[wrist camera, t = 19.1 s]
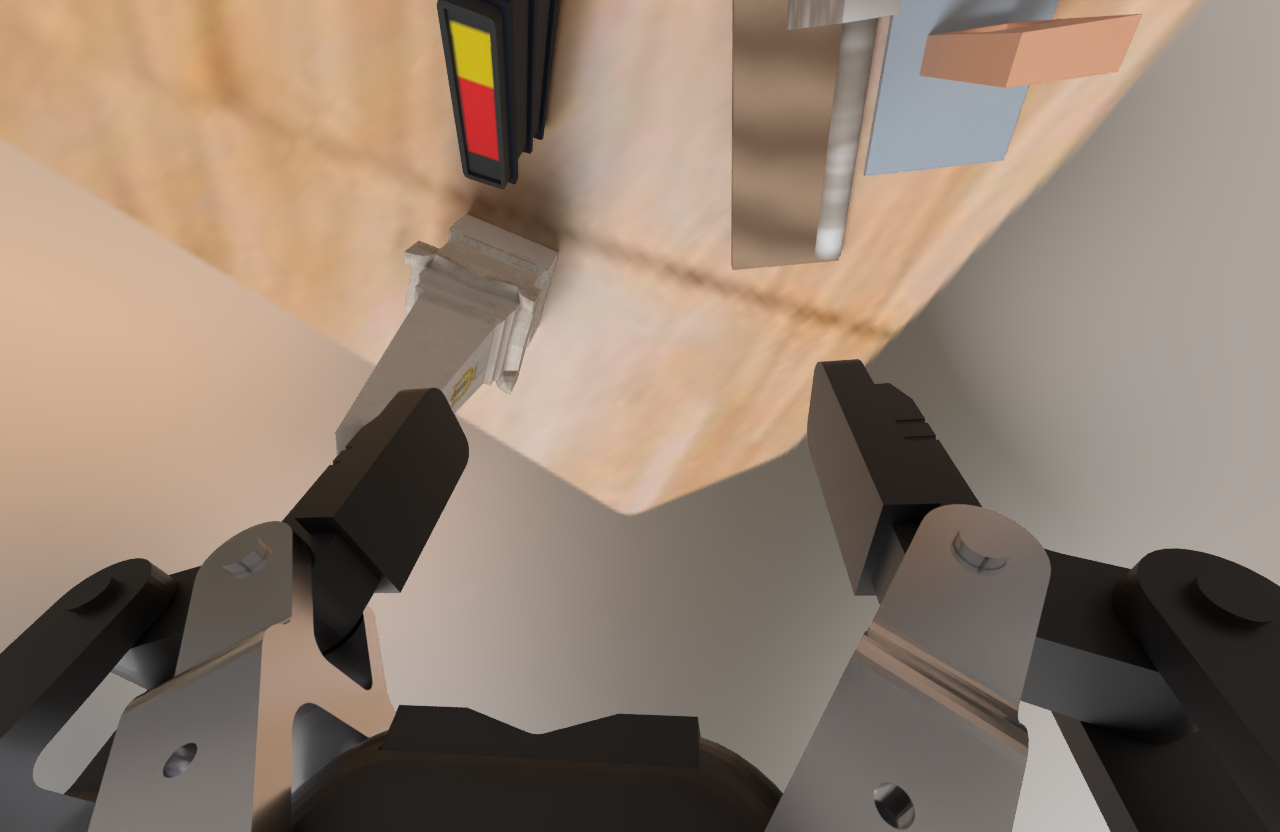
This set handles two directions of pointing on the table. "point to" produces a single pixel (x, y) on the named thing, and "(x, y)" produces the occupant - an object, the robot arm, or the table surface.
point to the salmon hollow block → (1030, 51)
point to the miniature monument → (460, 319)
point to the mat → (942, 91)
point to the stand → (797, 124)
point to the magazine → (498, 80)
